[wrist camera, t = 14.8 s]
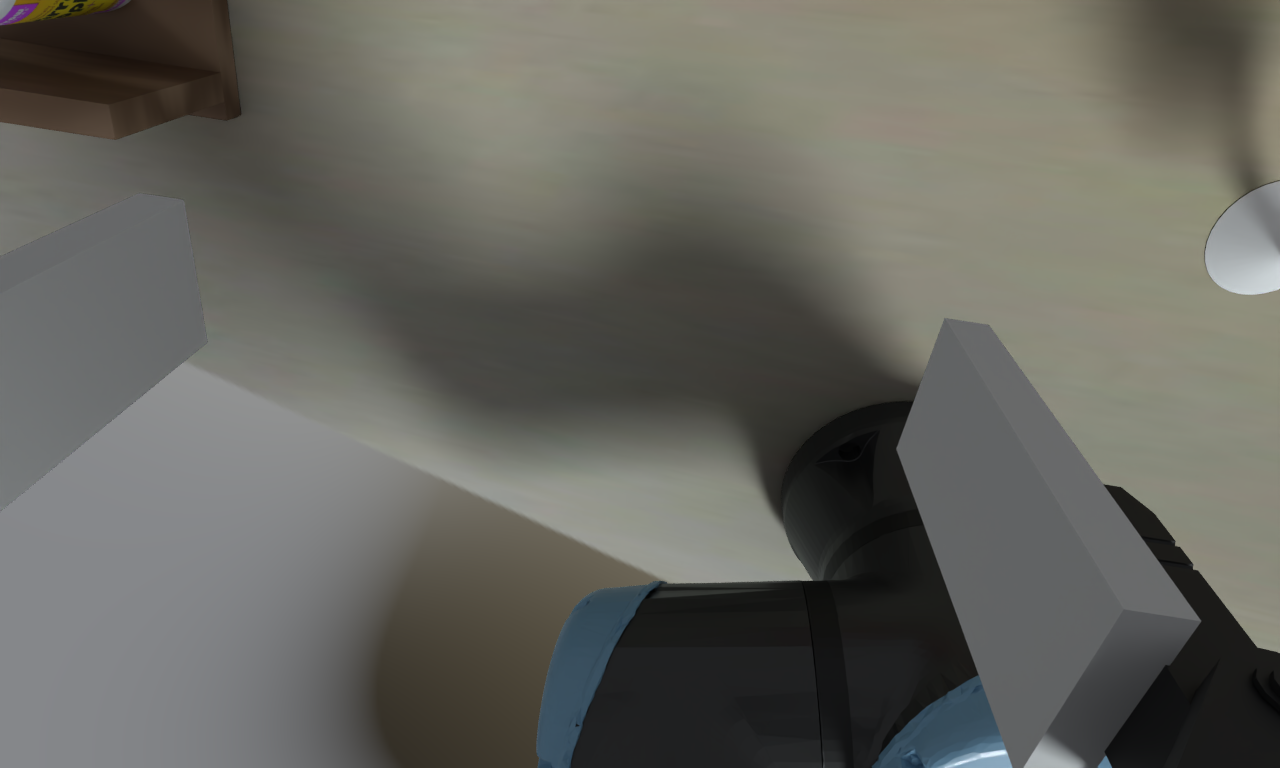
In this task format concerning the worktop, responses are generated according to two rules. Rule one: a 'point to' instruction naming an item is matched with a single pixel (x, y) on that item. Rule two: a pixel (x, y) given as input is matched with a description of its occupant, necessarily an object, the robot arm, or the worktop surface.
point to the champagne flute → (1247, 244)
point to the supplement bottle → (52, 9)
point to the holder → (120, 68)
